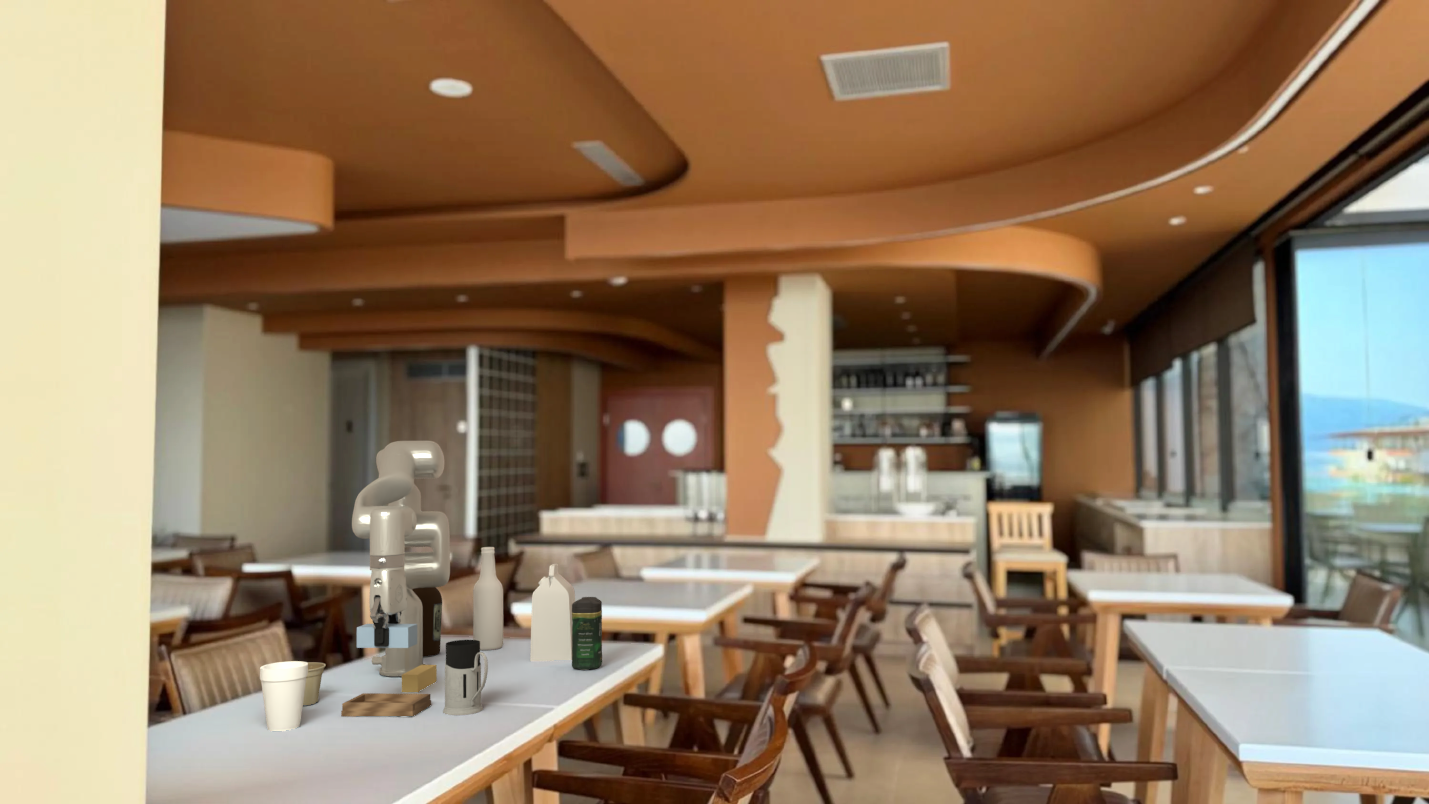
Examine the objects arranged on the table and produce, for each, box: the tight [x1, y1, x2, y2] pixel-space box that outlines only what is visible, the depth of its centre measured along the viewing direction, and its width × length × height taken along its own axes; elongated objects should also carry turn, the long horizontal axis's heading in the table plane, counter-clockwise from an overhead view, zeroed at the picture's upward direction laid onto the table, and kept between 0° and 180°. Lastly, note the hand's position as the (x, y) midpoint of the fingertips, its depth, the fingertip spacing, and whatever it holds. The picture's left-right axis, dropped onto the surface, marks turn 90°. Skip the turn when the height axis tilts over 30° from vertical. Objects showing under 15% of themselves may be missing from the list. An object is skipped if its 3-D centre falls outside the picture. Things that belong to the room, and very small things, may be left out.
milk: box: [529, 563, 576, 662], centre depth 287 cm, size 12×12×26 cm
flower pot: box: [303, 661, 327, 706], centre depth 235 cm, size 9×9×9 cm
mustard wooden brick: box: [401, 664, 438, 693], centre depth 250 cm, size 4×12×4 cm, turn 173°
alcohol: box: [472, 546, 504, 651], centre depth 303 cm, size 9×9×30 cm
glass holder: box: [442, 639, 489, 716], centre depth 224 cm, size 9×14×15 cm, turn 45°
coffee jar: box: [571, 596, 603, 671], centre depth 271 cm, size 10×8×19 cm
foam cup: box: [259, 660, 309, 732], centre depth 213 cm, size 10×9×13 cm
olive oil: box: [412, 587, 443, 658], centre depth 294 cm, size 11×11×25 cm
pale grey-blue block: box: [356, 623, 417, 649], centre depth 227 cm, size 12×5×4 cm, turn 84°
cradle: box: [340, 692, 432, 717], centre depth 226 cm, size 16×10×3 cm, turn 83°
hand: (387, 643), depth 227 cm, fingers closed on pale grey-blue block, 5 cm apart
